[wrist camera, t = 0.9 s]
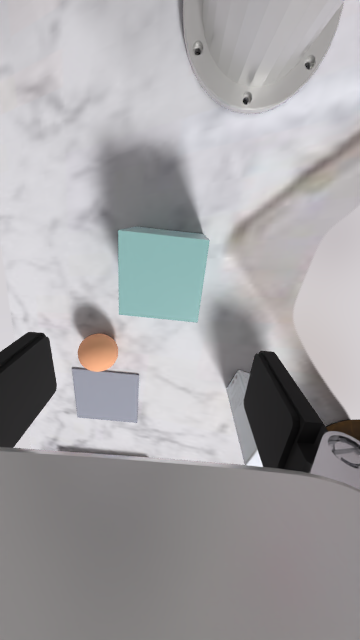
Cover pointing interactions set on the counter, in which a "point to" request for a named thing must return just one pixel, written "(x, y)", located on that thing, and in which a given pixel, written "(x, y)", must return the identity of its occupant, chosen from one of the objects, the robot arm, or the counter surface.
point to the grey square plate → (106, 395)
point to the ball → (98, 352)
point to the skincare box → (243, 418)
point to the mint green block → (161, 273)
